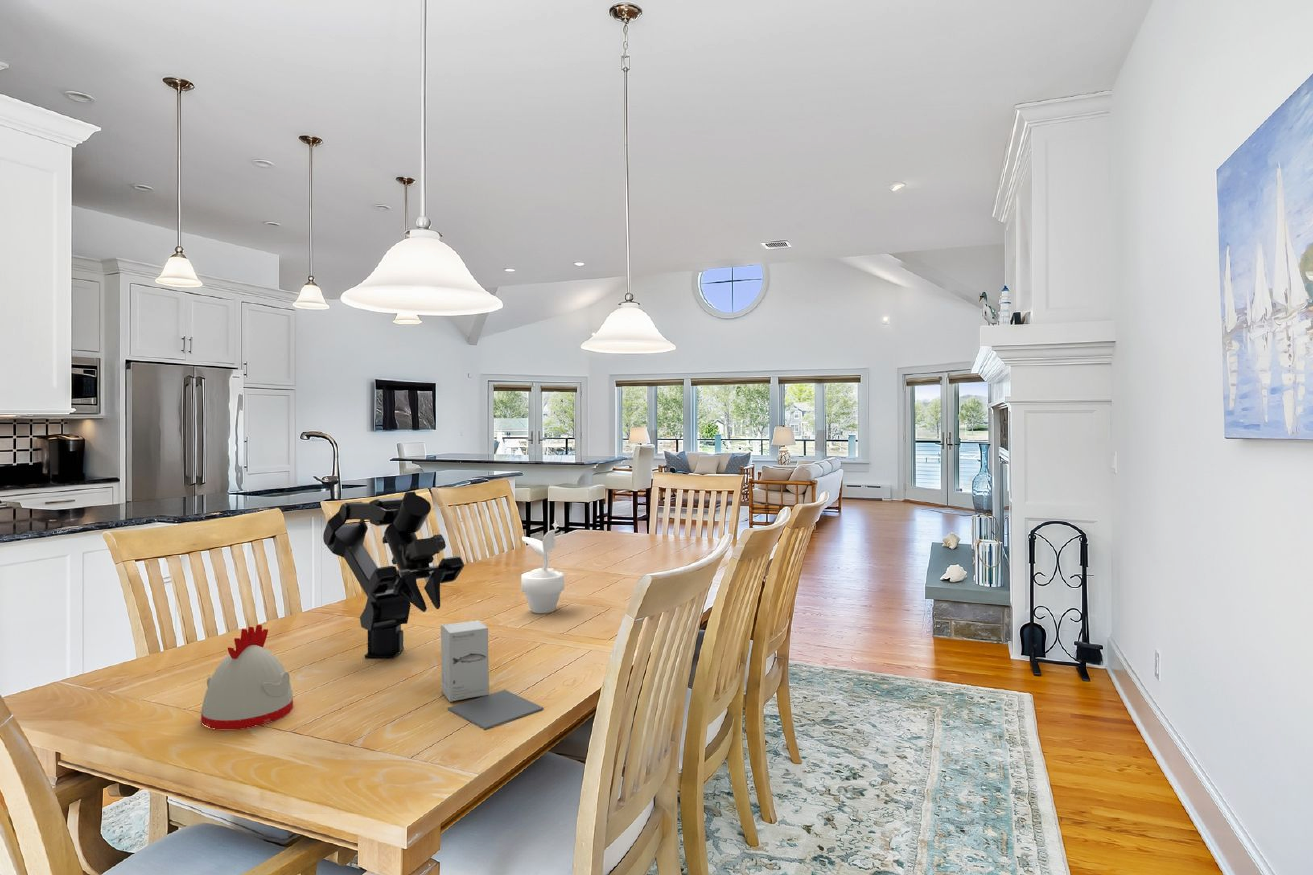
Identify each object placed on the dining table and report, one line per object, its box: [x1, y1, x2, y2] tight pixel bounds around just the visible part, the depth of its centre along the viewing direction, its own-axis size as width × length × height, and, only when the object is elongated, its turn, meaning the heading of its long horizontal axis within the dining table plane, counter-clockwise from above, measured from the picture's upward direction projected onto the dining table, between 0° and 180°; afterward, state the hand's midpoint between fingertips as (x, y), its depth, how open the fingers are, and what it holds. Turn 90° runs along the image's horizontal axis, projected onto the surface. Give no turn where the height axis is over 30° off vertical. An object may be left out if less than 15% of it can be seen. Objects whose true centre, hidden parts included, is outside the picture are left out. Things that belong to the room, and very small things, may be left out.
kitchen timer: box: [200, 624, 294, 730], centre depth 125 cm, size 14×14×15 cm
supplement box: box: [440, 620, 490, 703], centre depth 135 cm, size 7×7×13 cm
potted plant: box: [520, 518, 565, 615], centre depth 194 cm, size 13×12×25 cm
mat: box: [447, 689, 545, 730], centre depth 128 cm, size 12×12×1 cm
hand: (432, 609), depth 143 cm, fingers open, 3 cm apart
